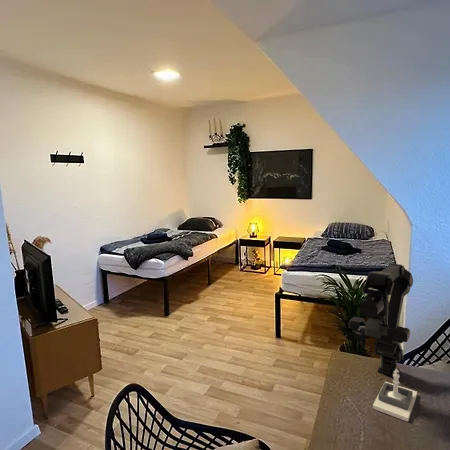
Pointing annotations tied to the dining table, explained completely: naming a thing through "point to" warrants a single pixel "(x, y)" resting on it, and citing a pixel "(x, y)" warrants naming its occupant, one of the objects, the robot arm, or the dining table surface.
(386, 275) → the robot arm
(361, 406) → the dining table surface
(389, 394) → the chess piece
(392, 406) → the board
